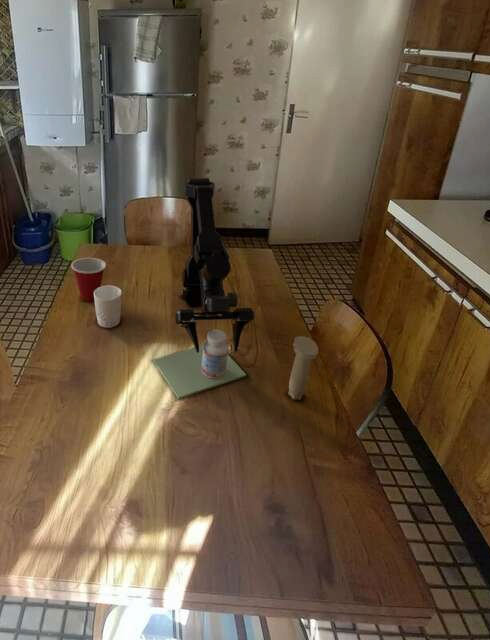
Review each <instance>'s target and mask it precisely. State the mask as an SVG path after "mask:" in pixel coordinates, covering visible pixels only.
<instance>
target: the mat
mask: <svg viewBox="0 0 490 640" xmlns="http://www.w3.org/2000/svg"><path fill="white" fill-rule="evenodd" d="M203 345H204V344H202V345H199V353H197V352H196V349H195V347H192V348H189V349H185V350H182V351H179V352H175V353H172V354H168V355H165V356H162V357H158V358H155V359H153V363H154V364H155V366H156V367H157V369H158V370H159V372H160V373H161V375H162V376H163V378H164V380H165V381H166V382H167V385H168V386H169V387H170V389H171V390H172V392H173V393H174V395H175V396H176V398H177V399H178V400H180V399H183V398H186V397H188V396H192V395H196V394H199V393H200V392H204V391H207V390H209V389H212V388H215V387H218V386H221V385H224V384H227V383H230V382H233V381H235V380H238V379H242V378H245V377H246V376H247V374H246V373H245V372H244V370H243V369H242V368H241V367H240V366H239V365H238V364H237V362H235V360H234V359H233V357H231V356H230V355H229V354H228V356H227V364H226V371H225V374H224V375H223V376H222V377H221V378H218V379H211V378H208V377H206V376H205V375H204V374H203V373H202V370H201V366H202V356H203Z"/></svg>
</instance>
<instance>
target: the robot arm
mask: <svg viewBox="0 0 490 640" xmlns="http://www.w3.org/2000/svg"><path fill="white" fill-rule="evenodd" d="M215 187H216V186H215V183H214V181H210V178H209V177H188V178H187V181H184V182H183V193H184V195H185V199H186V201H187V203H188V205H189V207H190V255H189V256H188V258H187V259H186V261H185V265H184V268H183V270H182V272H181V283H182V294H181V298H182V300H183V301H184V302H185V303H186V304H187V305H188V306H189V307H191V308H190V309H189V308H188V309H187V308H185V309H183V308H182V309H179V310H178V311H177V312H176V313H175V314H174V315H175V317H174V318H175V324H176V325H180V327H181V328H184V329H185V330H186V332H187V334H188V336H189V337H190V340H191V341H192V344H193V348H195V349H196V352H197V353H199V346H200V344H199V338H198V331H197V321H218V320H219V321H221V320H224V321H225V320H233V321H234V323H232V343H233V345H232V346H233V350H234V353H235V352H238V348H239V344H240V340H241V336H242V332H243V330H244V327H245V326H246V325H248V324H250V322H252V321H253V320H255V319H256V318H255V317H256V316H255V311H254V309H253V308H252V307H238V295H237V293H236V292H227V294H225V289H224V280H225V279H226V278H227V276H228V275H229V274H230V272H231V269H232V266H231V263H230V254H229V253H228V251H227V249H226V247H225V245H224V244H223V239H222V236H221V235H220V234H219V233H218V232H217V229H216V223H215V215H214V205H213V197H214V196H215ZM200 305H201V312H195V311H194V309H193V308H192V307H196V306H200ZM231 308H236V309H234V310H233V311H230V310H231Z"/></svg>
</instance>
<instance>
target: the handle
mask: <svg viewBox="0 0 490 640" xmlns="http://www.w3.org/2000/svg"><path fill="white" fill-rule="evenodd" d="M292 347H293V351H294V353H295V357H294V361H293V364H292V368H291V372H290V375H289V380H288V381H289V382H288V396H289V397H290V398H292V399H293V400H294V401H296V400H297V401H300V400H302V397H303V396H304V394H305V392H306V389H307V386H308V382H309V376H310V369H311V363H312V360H314V359H317V357H318V353H319V347H318V345H317V343H316V342H315V341H314V340H313V339H312V338H311V337H309V336H304V335H300V336H299V335H298V336H296V337H294V341H293V346H292Z"/></svg>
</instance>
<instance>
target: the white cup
mask: <svg viewBox="0 0 490 640" xmlns="http://www.w3.org/2000/svg"><path fill="white" fill-rule="evenodd" d="M94 308H95V315H96V322H97V325H99V326H100V327H102V328H105V329H111V328H115V327H117V326H118V325H119V324H120V322H121V312H122V290H121V288H119V286H115V285H111V284H110V285H109V284H108V285H101V287H99V288H97V289H96V290H95V291H94Z"/></svg>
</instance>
